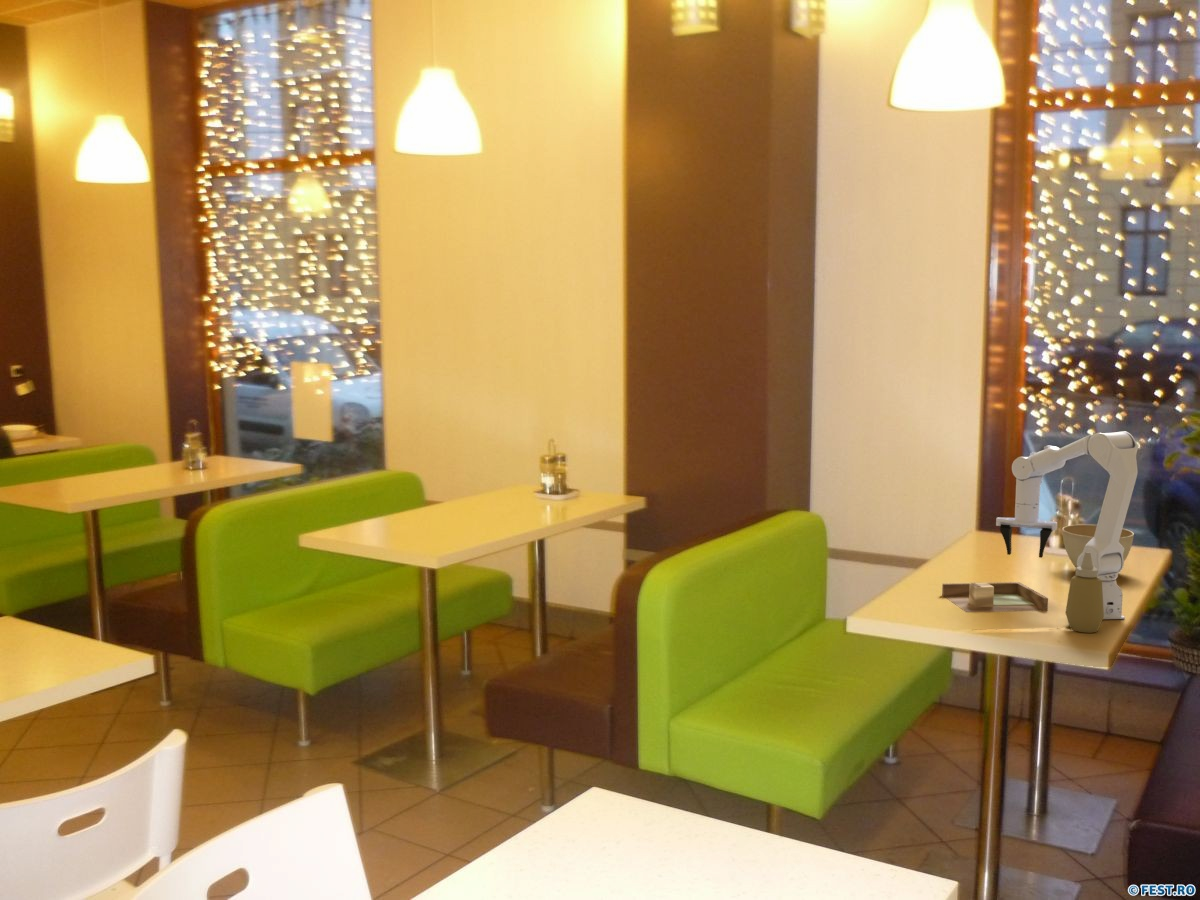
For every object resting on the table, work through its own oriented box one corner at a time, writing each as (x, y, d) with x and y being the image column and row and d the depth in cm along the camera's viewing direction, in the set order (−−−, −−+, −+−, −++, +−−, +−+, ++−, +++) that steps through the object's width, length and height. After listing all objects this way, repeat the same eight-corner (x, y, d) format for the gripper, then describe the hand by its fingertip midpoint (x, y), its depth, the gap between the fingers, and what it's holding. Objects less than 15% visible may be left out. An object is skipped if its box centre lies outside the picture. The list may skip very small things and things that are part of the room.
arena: (1047, 613, 272) (1048, 598, 272) (966, 615, 271) (966, 599, 270) (1018, 596, 288) (1019, 582, 288) (942, 598, 287) (942, 583, 286)
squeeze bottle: (1064, 623, 264) (1068, 547, 261) (1102, 627, 261) (1106, 550, 258) (1064, 632, 256) (1068, 554, 254) (1103, 636, 253) (1107, 557, 251)
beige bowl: (1046, 569, 318) (1048, 527, 317) (1096, 564, 324) (1099, 522, 323) (1094, 583, 301) (1096, 539, 300) (1146, 578, 307) (1149, 534, 306)
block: (993, 606, 275) (994, 586, 275) (975, 607, 275) (975, 586, 274) (986, 602, 279) (987, 582, 279) (968, 603, 279) (969, 582, 278)
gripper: (1059, 503, 289) (1056, 555, 290) (999, 498, 296) (997, 549, 297) (1056, 507, 283) (1053, 560, 284) (995, 502, 289) (993, 554, 291)
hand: (1024, 555), depth 290 cm, fingers open, 7 cm apart
